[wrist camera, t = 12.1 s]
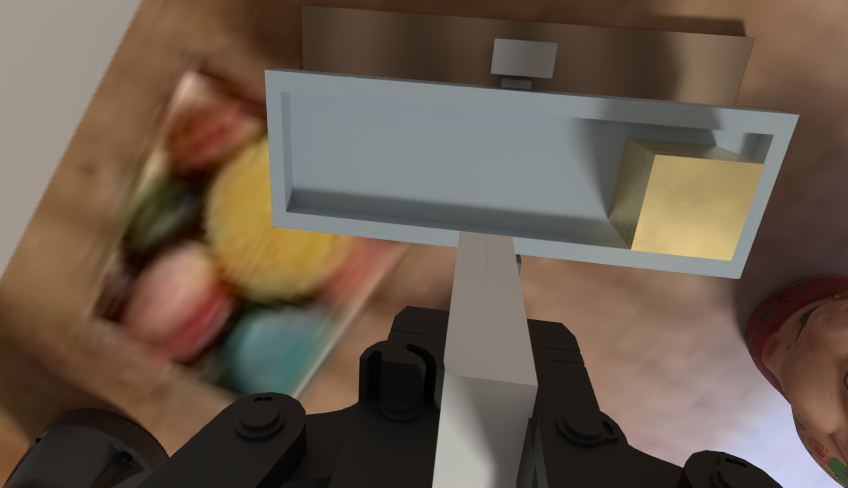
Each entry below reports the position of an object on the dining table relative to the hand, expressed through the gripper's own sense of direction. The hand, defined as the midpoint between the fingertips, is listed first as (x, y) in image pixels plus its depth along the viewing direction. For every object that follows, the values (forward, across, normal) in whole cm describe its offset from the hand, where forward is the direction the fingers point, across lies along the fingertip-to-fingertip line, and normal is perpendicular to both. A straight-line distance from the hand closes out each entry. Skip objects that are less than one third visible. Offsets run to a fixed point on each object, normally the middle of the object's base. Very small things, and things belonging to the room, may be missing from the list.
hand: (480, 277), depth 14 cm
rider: (+13, +10, 0) cm, 16 cm away
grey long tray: (+19, +1, 0) cm, 19 cm away
